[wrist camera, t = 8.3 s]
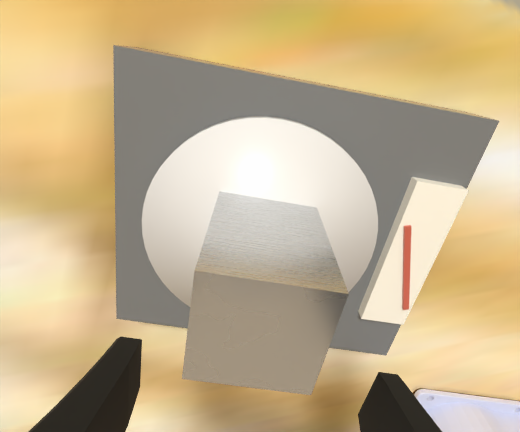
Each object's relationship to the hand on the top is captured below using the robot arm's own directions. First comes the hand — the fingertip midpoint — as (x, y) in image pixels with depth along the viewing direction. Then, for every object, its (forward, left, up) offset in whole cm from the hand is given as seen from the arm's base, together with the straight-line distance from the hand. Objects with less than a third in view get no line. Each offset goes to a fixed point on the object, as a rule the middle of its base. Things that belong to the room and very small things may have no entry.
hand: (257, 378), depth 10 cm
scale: (-1, -1, -10) cm, 10 cm away
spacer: (0, -1, -7) cm, 7 cm away
